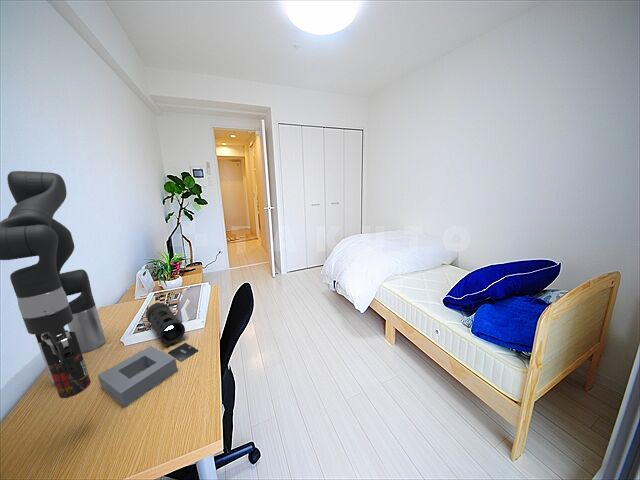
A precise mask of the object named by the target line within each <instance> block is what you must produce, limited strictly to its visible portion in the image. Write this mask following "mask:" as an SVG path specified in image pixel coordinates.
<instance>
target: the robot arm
mask: <svg viewBox="0 0 640 480" xmlns="http://www.w3.org/2000/svg"><path fill="white" fill-rule="evenodd" d="M6 180H7V186H8V189H9V191H10V193H11V194H10V195H12V198H13V199H14V201H15V203H16V204H15V205H14V206H13V207H12V208H11V210H10V211H9V215H8V216H7V217H5V218H4V219H3V220H1V221H0V261H13V260H18V259H25V258H32V257H38V261H37V262H36V263H35V264H32V265H29V266H25V267H22V268H20V269H19V268H18V269H17V270H13V272H12V273H11V274H10V276H9V279H10V282H11V285H12V288H13V291H14V293H15V296H16V299H17V305H18V309H19V312H20V314H21V317H22V320H23V322H24V326H25V329H26V331H27V334H29V335H35V334H41V335H42V336H41V339H42V340H43V342H46V345H49V346H50V348H51V351H52V354H53V355H57V357H58V359H59V362H60V363H61V366H62V369H63V372H64V374H65V375H69V374H71V373H73V372H75V371H76V370H77V366H76V363H75V360H74V358H75V357H77V354H76V352H75V348H74V344H73V341H72V337H71V336H70V334H69V332H70V331H71V332H75V334H76V337H77V340H78V343H79V346H80V349H81V352H82V354H83V353H87V352H91V351H93V350H95V349H97V348H99V347H102V345H104V344H105V343H106V341H107V340H106V336H105V334H104V329H103V325H102V323H101V319H100V315H99V312H98V309H97V305H96V302H95V299H94V296H93V291H92V287H91V283H90V278H89V275H88V273H87V271H86V270H85V269H76V270H70V271H67V272H66V271H65V272H61V270H62V268H63V266H64V265H65V264H66V262H67V261H68V260H69V258H70V257H71V256H72V254H73V252H74V250H75V243H74V239H73V236H72V232H71V231H70V230H69V229H68V228H67V227H66V225H63V224H62V223H61V222H59V221H57V220H56V219H54V216H55V213H56V212H57V211H58V210H59V208H60V207H62V205H63V203H64V202H65V200H66V198H67V186H66V183H65V180H64V178H63V177H62V176H61V175H60V174H58V173H55V172H48V171H47V172H44V171H31V170H30V171H27V170H24V171H23V170H12V171H10V172H9V173H8V174H7V177H6ZM76 294H79V295H78V296H77V297H75V298H74V299H72V300H70V301H69V300H68V297H69V296H73V295H76ZM66 326H67V327H68V329H69V330H68V329H66V328H65V327H66ZM69 336H70V337H69ZM53 345H54V346H56V347H57V349H58V350H55V348H54V346H53ZM68 352H69V354H68V355H66V356H64V354H66V353H68Z"/></svg>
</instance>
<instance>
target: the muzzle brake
mask: <svg viewBox="0 0 640 480" xmlns="http://www.w3.org/2000/svg"><path fill="white" fill-rule="evenodd" d="M145 318H146V320H147V321H148V323H149V324H150V325H151V326H152V328H153V329H154V332H155V333H156V334H157V336H158V337H159V339H160V341H161V342H162V343H164V344H165V345H175V344H178V341H180V340H181V339H183V337H184V335H185V332H186V327H185V325H184V324H183V322H182V321H180V319H179V318H178V317H177V316H176V314H175V313H173V311H172V310H171V308H170V307H169V305H167V304H166V303H164V302H155V303H153V304H151V305H150V306H149V307H148V308H147V310H146V311H145ZM170 325H173V326H174V328H173V329H171V330H168V331H164V330H165V329H166V328H167V327H168V326H170Z"/></svg>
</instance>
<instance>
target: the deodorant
mask: <svg viewBox="0 0 640 480" xmlns="http://www.w3.org/2000/svg"><path fill="white" fill-rule="evenodd" d="M68 332H69V334H70V336H71V337H72V341H73V344H74V348H75V352H76V354H77V357H75V358H74V360H75V363H76V366H77V370H76V371H75V372H73V373H71V374H69V375H65V374H64V372H63V369H62V366H61V363H60V362H59V359H58V357H57V355H53V354H52V351H51V348H50V346H49V345H46V342H42V343H41V348H42V350H43V353H44V356H45V359H46V361H47V364H48V367H49V369H50V372H51V375H52V378H53V380H54V383H55V386H54V387H55V389H56V391H57V394H58V397H59V398H60V399H68V398H72V397H74V396H77V395H78V394H81V393H82V392H83V391H85V390H86V389H87V388H88V387H90V385H91V383H92V382H91V378H90V374H89V372H88V369H87V366H86V362H85V359H84V355H83V353H82V352H81V349H80V346H79V343H78V340H77V337H76V334H75V332H71V331H70V330H69V331H68ZM70 336H69V337H70ZM53 346H54V345H53ZM54 348H55V350H58V349H57V347H56V346H54ZM68 354H69V352H68V353H66V354H64V356H66V355H68Z"/></svg>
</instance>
